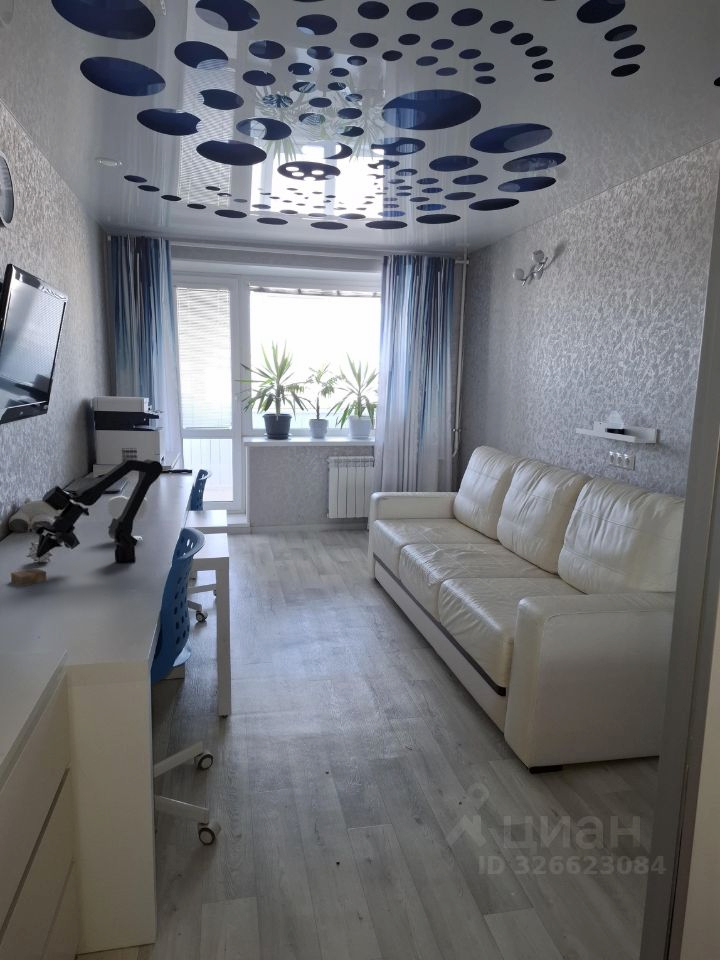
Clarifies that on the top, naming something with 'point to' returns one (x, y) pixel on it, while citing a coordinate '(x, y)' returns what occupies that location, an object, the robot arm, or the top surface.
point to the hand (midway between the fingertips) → (37, 557)
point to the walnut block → (28, 576)
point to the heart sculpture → (118, 506)
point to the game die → (34, 551)
